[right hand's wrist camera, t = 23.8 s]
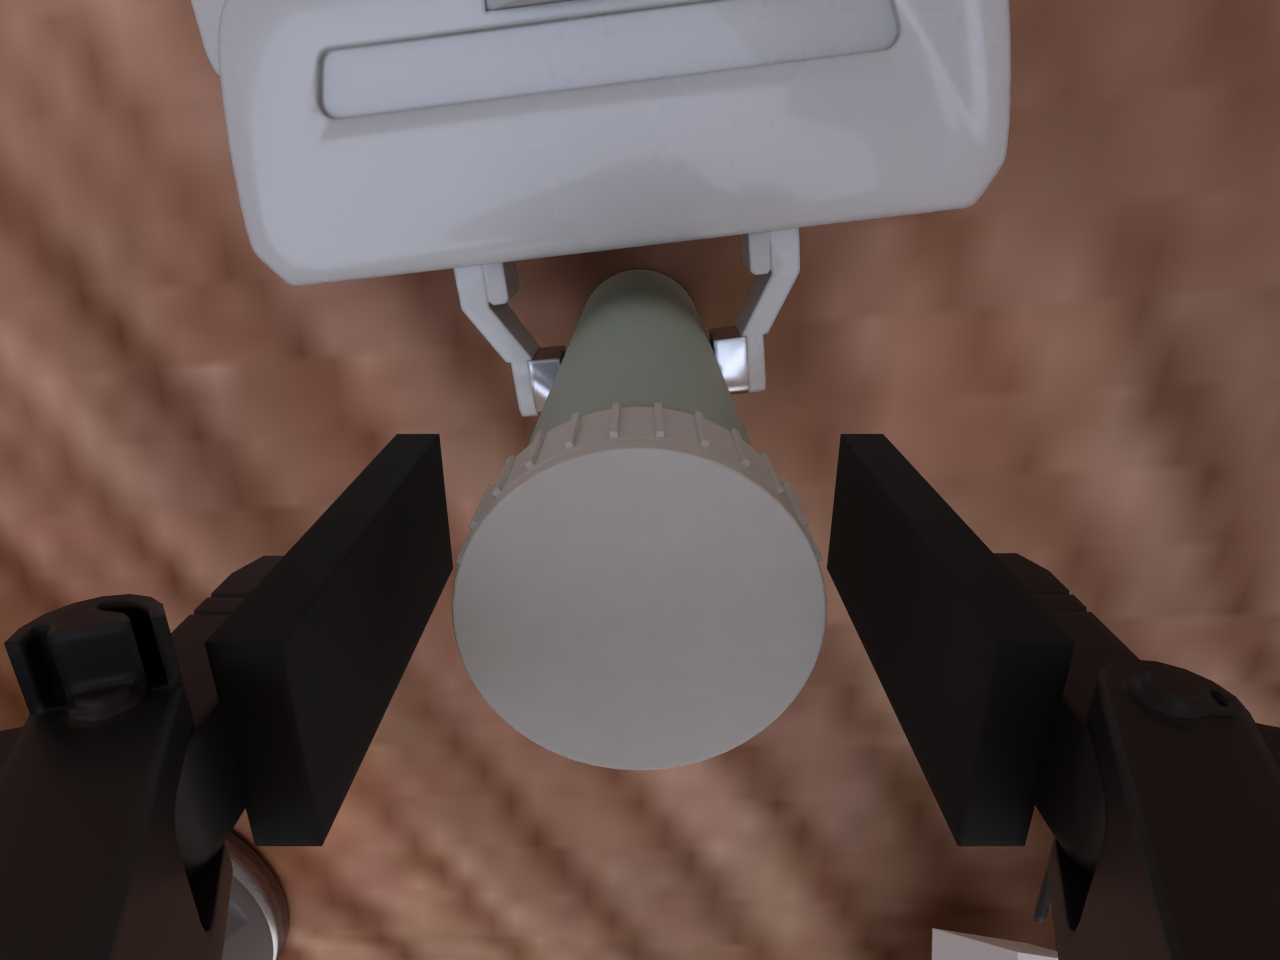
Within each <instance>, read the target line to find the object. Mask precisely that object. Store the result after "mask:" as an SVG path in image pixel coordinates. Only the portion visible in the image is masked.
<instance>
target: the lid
mask: <svg viewBox="0 0 1280 960" xmlns="http://www.w3.org/2000/svg"><path fill="white" fill-rule="evenodd" d="M807 524H808V522H807V520H806V518H805V516H804V514H803V511H802V509H801V507H800V505H799V503H798V501H797V499H796V497H795V495H794V493H793V491H792V488H791V486H790V485H789V483H788V482H786V483H784V484H782V482H781V481H780V479H779V477H778V475H777V473H776V471H775V469H774V467H773V464H772V462H771V460H770V458H769V456H768V455H767V454H766V453H765V452H764V453H762V454H761V455H760V454H759V453H758V452H757V451H755V450H754V449H753V448H752V447H751V446H750V445H749V444H747V443H746V442H745V441H744V440H742V438H741V435H740V433H739V431H738V430H737V429H735V428H732V430H731V431H729V430H727V429H725V428H723V427H721V426H719V425H717V424H715V423H713V422H711V421H709V420H707V419H704V417H703V413H702V412H699V411H695V414H694V415H692V414H689V413H685V412H681V411H675V410H670V409H665V408H662V403H655V404H654V407H623V408H621V407H620V403H615V404H613V405H612V409H608V410H603V411H598V412H593V413H590V414H587V415H584V416H580V413H579V412H577V413H574V414H572V417H571V420H570V421H568V422H566V423H564V424H562V425H560V426H558V427H555V428H553V429H552V430H550V431H549V432H547V433H546V434H545V433H544V431H543V430H540V431H539V432H537V433H536V436H535V438H534V441H533V443H531V444H530V445H529V446H528V447H527V448H526V449H524V450H523V451H522V452H521V453H520V454H519V455H518V456H517V457H516V458H515V457H514V456H513V455H511V456H510V457H509V458H508V459H507V461H506V463H505V465H504V467H503V470H502V472H501V474H500V476H499V478H498V481H497V483H496V485H495V486H494V487H493V486H491V485H489V486H488V488H487V490H486V492H485V494H484V496H483V498H482V500H481V502H480V504H479V506H478V508H477V510H476V512H475V514H474V517H473V519H472V521H471V523H470V525H469V528H471V530H470V532H469V534H468V536H467V538H466V540H465V542H464V544H463V547H462V549H461V551H460V553H459V555H458V557H457V561H456V564H457V565H459V567H458V570H457V574H456V577H455V582H454V590H453V598H452V619H453V627H454V633H455V639H456V644H457V647H458V650H459V652H460V655H461V658H462V661H463V664H464V666H465V668H466V670H467V672H468V674H469V676H470V678H471V680H472V682H473V684H474V685H475V687H476V688H477V689H478V691H479V692H480V694H481V695H482V697H483V698H484V700H485V701H486V702H487V703H488V704H489V705H490V706H491V707H492V709H493V710H494V711H495V712H496V713H497V714H498V715H499V716H500V717H501V718H502V719H503V720H504V721H506V722H507V723H508V724H509V725H510V726H511V727H513V728H514V729H515V730H516V731H518V732H519V733H521V734H522V735H524V736H525V737H527V738H528V739H530V740H531V741H533V742H534V743H536V744H538V745H540V746H542V747H544V748H546V749H548V750H550V751H552V752H554V753H557V754H559V755H562V756H564V757H567V758H570V759H572V760H575V761H579V762H583V763H587V764H590V765H594V766H600V767H606V768H613V769H624V770H655V769H666V768H672V767H679V766H684V765H688V764H692V763H696V762H700V761H703V760H706V759H709V758H712V757H714V756H717V755H720V754H722V753H725V752H727V751H729V750H731V749H733V748H735V747H737V746H739V745H740V744H742V743H744V742H746V741H747V740H749V739H750V738H752V737H753V736H755V735H756V734H758V733H759V732H761V731H762V730H764V729H765V728H766V727H767V726H768V725H770V724H771V723H772V722H773V721H774V720H775V719H777V718H778V717H779V716H780V715H781V714H782V713H783V711H784V710H785V709H786V708H787V707H788V706H789V705H790V704H791V703H792V702H793V700H794V699H795V698H796V696H797V695H798V693H799V692H800V690H801V689H802V688H803V686H804V685H805V683H806V681H807V679H808V677H809V675H810V673H811V671H812V669H813V668H814V666H815V663H816V660H817V657H818V654H819V651H820V648H821V646H822V642H823V636H824V631H825V625H826V605H827V601H826V593H825V585H824V579H823V575H822V572H821V568H820V565H819V561H822V558H821V554H820V552H819V550H818V548H817V546H816V544H815V541H814V539H813V537H812V535H811V533H810V531H809V529H808V527H807Z"/></svg>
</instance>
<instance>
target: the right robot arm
mask: <svg viewBox="0 0 1280 960" xmlns="http://www.w3.org/2000/svg"><path fill="white" fill-rule="evenodd" d="M452 569H453V563H452V553H451V544H450V534H449V524H448V515H447V505H446V495H445V486H444V476H443V466H442V457H441V447H440V437H439V434H397V435H396V436H395V437H394V438H393V439H392V440H391V441H390V442H389V443H388V444H387V445H386V447H385V448H384V449H383V450H382V451H381V452H380V453H379V454H378V455H377V456H376V457H375V458H374V460H373V461H372V462H371V463H370V464H369V465H368V466H367V467H366V468H365V469H364V470H363V471H362V473H361V474H360V475H359V476H358V477H357V478H356V479H355V480H354V481H353V482H352V483H351V484H350V486H349V487H348V488H347V489H346V490H345V491H344V492H343V493H342V494H341V495H340V496H339V497H338V498H337V500H336V501H335V502H334V503H333V504H332V505H331V506H330V507H329V508H328V509H327V510H326V511H325V513H324V514H323V515H322V516H321V517H320V518H319V519H318V520H317V521H316V522H315V523H314V524H313V526H312V527H311V528H310V529H309V530H308V531H307V532H306V533H305V534H304V535H303V536H302V537H301V538H300V540H299V541H298V542H297V543H296V544H295V545H294V546H293V547H292V548H291V549H290V550H289V551H288V553H287V554H286V555H285V556H263V557H261V558H259V559H257V560H255V561H254V562H252V563H250V564H248V565H246V566H244V567H243V568H241V569H239V570H237V571H235V572H233V573H232V574H231V575H230V576H229V577H228V578H227V579H226V580H225V581H224V582H223V583H222V584H221V585H220V586H219V587H218V588H217V589H215V590H214V591H213V592H212V593H211V594H212V596H211V598H206V599H205V600H204V601H203V602H202V603H201V604H200V605H199V606H198V607H197V608H196V609H195V610H194V615H189V616H188V617H187V618H186V619H185V620H184V621H183V622H182V623H181V624H180V625H179V626H178V627H177V628H176V629H175V630H174V631H173V632H172V633H170V629H169V626H168V622H167V618H166V615H165V611H164V607H163V604H161V603H160V602H158V601H156V600H155V599H153V598H152V597H147V596H140V595H132V594H126V595H114V596H103V597H98V598H94V599H90V600H85V601H81V602H77V603H73V604H70V605H67V606H65V607H62V608H59V609H57V610H54V611H51V612H49V613H46V614H44V615H42V616H40V617H38V618H37V619H35V620H33V621H31V622H30V623H28V624H26V625H24V626H23V627H21V628H19V629H18V630H17V631H16V632H15V633H14V634H13V635H12V636H11V637H10V638H9V639H8V640H7V641H6V642H5V643H4V644H5V647H6V650H7V653H8V655H9V658H10V661H11V663H12V666H13V669H14V672H15V674H16V677H17V680H18V683H19V685H20V688H21V691H22V693H23V696H24V699H25V702H26V704H27V707H28V710H29V713H30V716H29V717H28V719H27V721H26V723H25V725H24V727H20V728H15V729H10V730H5V731H0V960H278V958H279V955H280V953H281V951H282V949H283V947H284V944H285V941H286V938H287V933H288V910H287V905H286V901H285V898H284V895H283V892H282V890H281V888H280V885H279V884H278V882H277V880H276V878H275V877H274V875H273V873H272V872H271V871H270V869H269V868H268V866H267V865H266V864H265V863H264V862H263V860H262V859H261V858H260V857H259V856H258V855H257V854H256V853H255V852H254V851H253V850H252V849H251V848H250V847H249V846H248V845H247V844H246V843H244V842H243V841H242V840H241V839H239V838H238V837H237V836H235V835H234V834H233V833H231V830H232V829H233V827H234V826H235V824H236V822H237V821H238V819H239V817H240V816H241V814H242V813H243V811H244V809H245V808H246V811H247V815H248V819H249V823H250V827H251V830H252V834H253V838H254V842H255V846H322V845H323V843H324V841H325V839H326V837H327V834H328V832H329V830H330V828H331V826H332V824H333V822H334V820H335V817H336V815H337V813H338V811H339V809H340V807H341V805H342V803H343V801H344V798H345V796H346V794H347V792H348V790H349V788H350V786H351V784H352V781H353V779H354V777H355V775H356V773H357V771H358V769H359V767H360V764H361V762H362V760H363V758H364V756H365V754H366V752H367V750H368V747H369V745H370V743H371V741H372V739H373V737H374V735H375V733H376V730H377V728H378V726H379V724H380V722H381V720H382V718H383V716H384V714H385V711H386V709H387V707H388V705H389V703H390V701H391V699H392V697H393V694H394V692H395V690H396V688H397V686H398V684H399V682H400V680H401V677H402V675H403V673H404V671H405V669H406V667H407V665H408V663H409V660H410V658H411V656H412V654H413V652H414V650H415V648H416V646H417V643H418V641H419V639H420V637H421V635H422V633H423V631H424V629H425V627H426V624H427V622H428V620H429V618H430V616H431V614H432V612H433V610H434V607H435V605H436V603H437V601H438V599H439V597H440V595H441V593H442V590H443V588H444V586H445V584H446V582H447V580H448V578H449V576H450V573H451V571H452ZM827 569H828V571H829V573H830V576H831V578H832V580H833V582H834V584H835V586H836V588H837V590H838V593H839V595H840V597H841V599H842V601H843V603H844V605H845V607H846V610H847V612H848V614H849V616H850V618H851V620H852V622H853V624H854V627H855V629H856V631H857V633H858V635H859V637H860V639H861V641H862V643H863V646H864V648H865V650H866V652H867V654H868V656H869V658H870V660H871V663H872V665H873V667H874V669H875V671H876V673H877V675H878V677H879V680H880V682H881V684H882V686H883V688H884V690H885V692H886V694H887V697H888V699H889V701H890V703H891V705H892V707H893V709H894V711H895V714H896V716H897V718H898V720H899V722H900V724H901V726H902V728H903V730H904V733H905V735H906V737H907V739H908V741H909V743H910V745H911V747H912V750H913V752H914V754H915V756H916V758H917V760H918V762H919V764H920V767H921V769H922V771H923V773H924V775H925V777H926V779H927V781H928V784H929V786H930V788H931V790H932V792H933V794H934V796H935V798H936V801H937V803H938V805H939V807H940V809H941V811H942V813H943V815H944V818H945V820H946V822H947V824H948V826H949V828H950V830H951V832H952V834H953V837H954V839H955V841H956V843H957V845H958V846H1025V842H1026V838H1027V834H1028V830H1029V827H1030V823H1031V819H1032V815H1033V811H1034V807H1035V805H1036V807H1037V809H1038V810H1039V812H1040V813H1041V815H1042V817H1043V818H1044V820H1045V821H1046V823H1047V825H1048V826H1049V828H1050V829H1051V831H1052V833H1053V834H1054V836H1055V837H1054V841H1053V845H1052V848H1051V852H1050V856H1049V860H1048V863H1047V867H1046V871H1045V874H1044V878H1043V882H1042V886H1041V889H1040V893H1039V897H1038V900H1037V904H1036V910H1035V915H1034V921H1037V922H1040V923H1043V924H1045V921H1046V917H1047V914H1048V910H1049V908H1050V907H1051V906H1052V913H1053V921H1054V929H1055V937H1056V945H1057V953H1058V960H1280V728H1279V727H1273V726H1268V725H1263V724H1258V723H1255V722H1254V720H1253V718H1252V716H1251V714H1250V713H1249V711H1248V710H1247V709H1246V708H1245V707H1244V706H1243V704H1242V703H1241V702H1240V701H1239V700H1238V699H1237V698H1236V697H1235V696H1234V695H1232V694H1231V693H1229V692H1228V691H1226V690H1225V689H1223V688H1222V687H1221V686H1219V685H1218V684H1216V683H1215V682H1213V681H1211V680H1209V679H1206V678H1204V677H1202V676H1199V675H1197V674H1195V673H1193V672H1190V671H1188V670H1186V669H1182V668H1179V667H1175V666H1171V665H1168V664H1164V663H1160V662H1155V661H1145V660H1140V659H1139V658H1138V657H1136V656H1135V655H1134V654H1133V653H1132V652H1131V651H1130V650H1129V649H1128V648H1127V647H1126V646H1125V645H1124V644H1123V643H1122V642H1121V641H1120V640H1119V639H1118V638H1117V637H1116V636H1115V635H1114V634H1113V633H1112V632H1111V631H1110V630H1109V629H1108V628H1107V627H1106V626H1105V625H1104V624H1103V623H1102V622H1101V621H1100V620H1099V619H1098V618H1097V617H1096V616H1095V615H1093V614H1092V613H1091V612H1087V611H1086V607H1085V606H1084V605H1083V604H1082V603H1081V602H1080V601H1079V600H1078V599H1077V598H1076V597H1075V596H1074V595H1069V590H1068V589H1067V588H1066V587H1065V586H1064V585H1063V584H1062V583H1061V582H1060V581H1059V580H1058V579H1057V578H1056V577H1055V576H1054V575H1053V574H1052V573H1051V572H1049V571H1048V570H1047V569H1045V568H1043V567H1041V566H1039V565H1037V564H1035V563H1034V562H1032V561H1030V560H1028V559H1026V558H1024V557H1022V556H1021V555H1019V554H1017V553H992V551H991V550H990V549H989V548H988V547H987V546H986V545H985V544H984V543H983V542H982V541H981V540H980V538H979V537H978V536H977V535H976V534H975V533H974V532H973V531H972V530H971V529H970V528H969V527H968V526H967V524H966V523H965V522H964V521H963V520H962V519H961V518H960V517H959V516H958V515H957V514H956V513H955V511H954V510H953V509H952V508H951V507H950V506H949V505H948V504H947V503H946V502H945V501H944V500H943V498H942V497H941V496H940V495H939V494H938V493H937V492H936V491H935V490H934V489H933V488H932V487H931V486H930V484H929V483H928V482H927V481H926V480H925V479H924V478H923V477H922V476H921V475H920V474H919V473H918V471H917V470H916V469H915V468H914V467H913V466H912V465H911V464H910V463H909V462H908V461H907V460H906V458H905V457H904V456H903V455H902V454H901V453H900V452H899V451H898V450H897V449H896V448H895V447H894V445H893V444H892V443H891V442H890V441H889V440H888V439H887V438H886V437H885V436H884V435H883V434H841V437H840V447H839V457H838V466H837V476H836V486H835V495H834V505H833V515H832V524H831V534H830V544H829V553H828V563H827Z"/></svg>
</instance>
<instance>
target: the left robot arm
mask: <svg viewBox="0 0 1280 960" xmlns="http://www.w3.org/2000/svg"><path fill="white" fill-rule="evenodd" d="M191 3H192V6H193V10H194V13H195V17H196V20H197V24H198V27H199V31H200V34H201V38H202V42H203V45H204V49H205V51H206V54H207V57H208V59H209V61H210V63H211V65H212V67H213V68H214V70H215V71H216V73H217V75H218V76H219V78H220V83H221V92H222V100H223V108H224V116H225V123H226V131H227V137H228V143H229V149H230V155H231V161H232V167H233V173H234V177H235V182H236V187H237V192H238V197H239V202H240V206H241V211H242V215H243V219H244V224H245V228H246V231H247V235H248V238H249V242H250V244H251V247H252V249H253V251H254V252H255V254H256V255H257V257H258V258H259V259H260V260H261V261H263V262H264V263H265V264H266V265H267V266H268V267H269V268H270V269H271V270H272V271H274V272H275V273H276V274H277V275H278V276H279V277H280V278H281V279H283V280H284V281H285V282H287V283H288V284H290V285H293V286H306V285H315V284H324V283H332V282H341V281H349V280H358V279H366V278H375V277H383V276H392V275H400V274H409V273H417V272H426V271H434V270H443V269H452V268H453V269H454V274H455V279H456V284H457V289H458V294H459V299H460V304H461V309H462V311H463V312H464V313H465V314H466V315H467V317H468V318H469V319H470V320H471V321H472V322H473V324H474V325H475V326H476V327H477V328H478V330H479V331H480V332H481V333H482V334H483V336H484V337H485V338H486V339H487V340H488V342H489V343H490V344H491V345H492V346H493V347H494V349H495V350H496V351H497V352H498V353H499V355H500V356H501V357H502V358H503V359H504V361H505V362H506V363H511V367H512V372H513V378H514V383H515V389H516V395H517V400H518V406H519V410H520V413H521V415H522V416H523V417H524V416H538V415H540V414H541V412H542V409H543V407H544V404H545V402H546V399H547V397H548V394H549V392H550V390H551V387H552V385H553V382H554V380H555V377H556V375H557V372H558V370H559V368H560V365H561V363H562V360H563V358H564V355H565V353H566V349H565V345H564V346H553V347H541V348H539V345H538V344H537V343H536V341H535V340H534V339H533V337H532V336H531V335H530V333H529V332H528V331H527V329H526V328H525V327H524V325H523V324H522V323H521V321H520V320H519V319H518V317H517V316H516V315H515V314H514V312H513V311H512V310H511V308H510V307H509V306H508V304H507V301H508V300H509V299H510V298H511V297H512V296H513V295H514V294H515V293H516V292H517V291H518V290H519V284H518V278H517V272H516V265H515V261H520V260H528V259H537V258H545V257H554V256H562V255H571V254H580V253H588V252H597V251H605V250H614V249H622V248H631V247H639V246H648V245H656V244H665V243H673V242H682V241H690V240H699V239H708V238H716V237H725V236H733V235H739V236H740V249H741V262H742V264H743V265H744V266H745V267H746V268H747V269H748V270H750V271H751V272H752V273H753V274H755V275H757V276H756V278H755V280H754V282H753V285H752V287H751V289H750V291H749V293H748V295H747V297H746V300H745V302H744V304H743V306H742V308H741V310H740V313H739V315H738V317H737V319H736V321H735V323H734V325H735V326H729V327H722V328H714V329H709V341H710V345H711V347H712V350H713V352H714V355H715V357H716V360H717V362H718V365H719V367H720V369H721V372H722V374H723V377H724V379H725V382H726V384H727V387H728V389H729V392H730V394H739V393H748V392H758V391H764V390H765V384H766V375H765V356H764V336H763V334H768V332H769V330H770V328H771V326H772V324H773V323H774V321H775V319H776V317H777V315H778V313H779V311H780V309H781V307H782V305H783V303H784V301H785V299H786V297H787V295H788V294H789V292H790V290H791V288H792V286H793V284H794V282H795V280H796V278H797V276H798V274H799V272H800V250H799V228H801V227H810V226H818V225H827V224H836V223H844V222H853V221H861V220H870V219H878V218H887V217H895V216H904V215H912V214H921V213H929V212H938V211H946V210H954V209H963V208H968V207H970V206H972V205H974V204H975V203H976V202H977V201H978V200H979V198H980V197H981V196H982V195H983V193H984V192H985V191H986V189H987V188H988V186H989V185H990V184H991V182H992V181H993V179H994V178H995V176H996V175H997V174H998V172H999V171H1000V169H1001V168H1002V166H1003V164H1004V161H1005V158H1006V153H1007V148H1008V139H1009V129H1010V109H1011V29H1010V7H1009V0H191Z"/></svg>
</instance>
